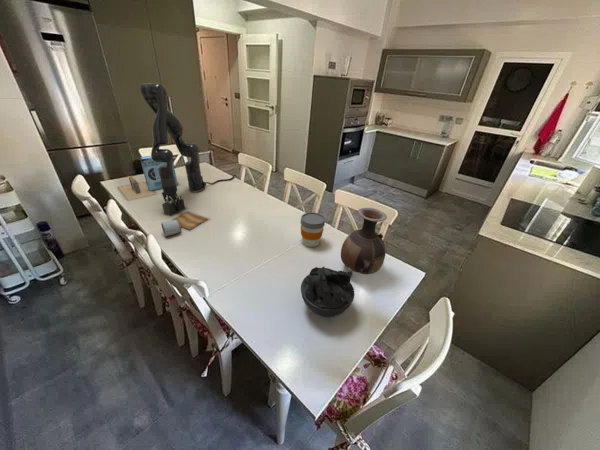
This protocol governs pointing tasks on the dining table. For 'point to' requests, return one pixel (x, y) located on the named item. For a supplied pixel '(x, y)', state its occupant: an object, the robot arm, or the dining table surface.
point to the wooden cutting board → (190, 220)
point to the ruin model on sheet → (135, 189)
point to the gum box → (153, 172)
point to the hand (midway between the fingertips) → (174, 209)
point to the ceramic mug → (171, 227)
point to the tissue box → (172, 207)
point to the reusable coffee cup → (312, 228)
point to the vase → (365, 244)
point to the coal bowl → (327, 291)
